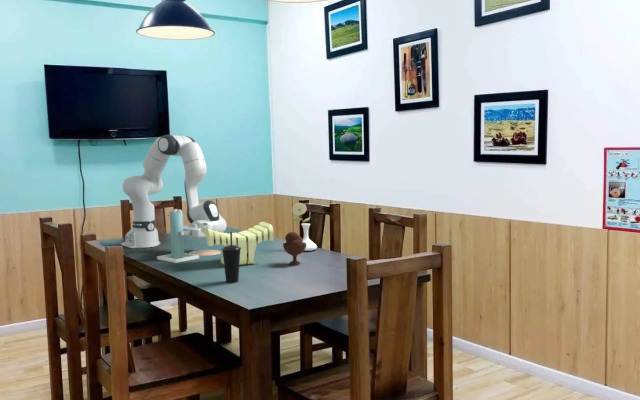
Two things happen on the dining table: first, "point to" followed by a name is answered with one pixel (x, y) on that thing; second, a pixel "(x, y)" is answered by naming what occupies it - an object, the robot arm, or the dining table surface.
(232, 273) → the drinking cup
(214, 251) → the terracotta plate
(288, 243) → the ice cream bowl
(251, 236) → the slatted curved stool
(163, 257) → the tray
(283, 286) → the dining table surface
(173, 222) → the teal cylinder
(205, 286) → the dining table surface
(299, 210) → the flower in vase
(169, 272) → the dining table surface
